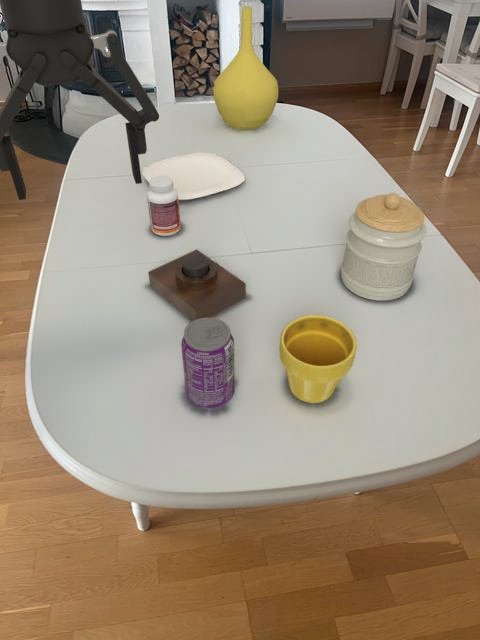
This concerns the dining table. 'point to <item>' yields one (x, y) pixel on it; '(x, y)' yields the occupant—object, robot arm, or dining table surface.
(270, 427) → the dining table surface
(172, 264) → the button box
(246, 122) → the vase
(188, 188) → the plate
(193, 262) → the button
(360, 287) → the jar
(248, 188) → the dining table surface
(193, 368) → the beverage can
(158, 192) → the pill bottle
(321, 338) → the flower pot
